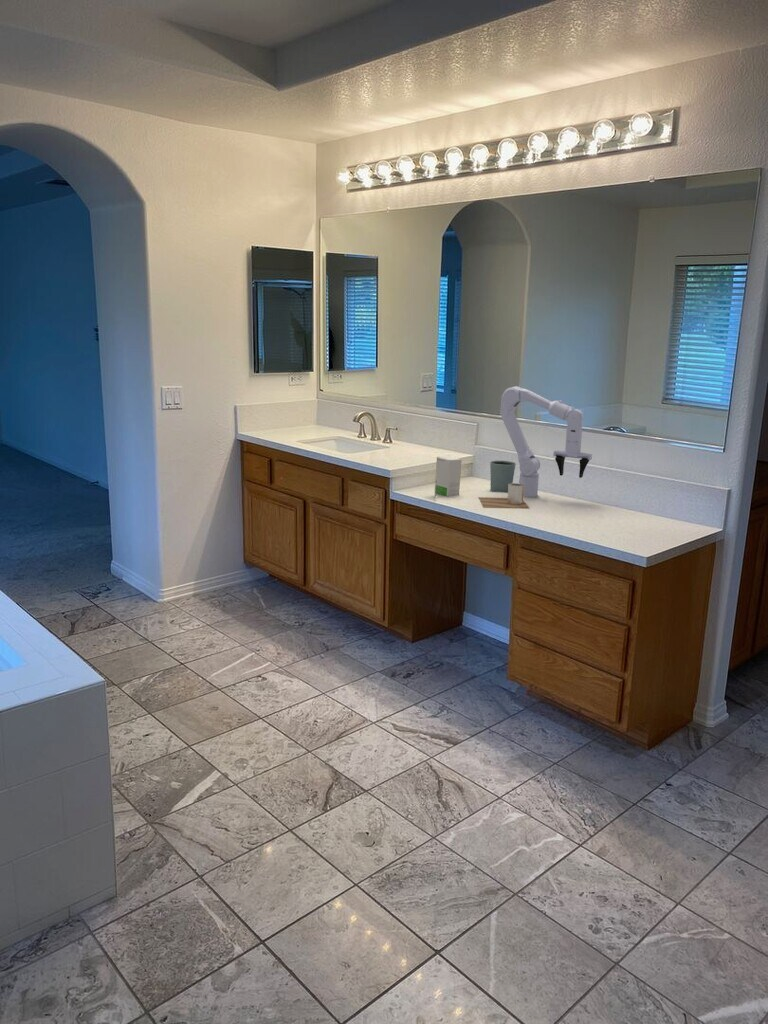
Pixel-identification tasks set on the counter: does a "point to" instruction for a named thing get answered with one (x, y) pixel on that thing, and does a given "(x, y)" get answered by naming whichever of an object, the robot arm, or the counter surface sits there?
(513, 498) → the duct sleeve
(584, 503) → the counter surface
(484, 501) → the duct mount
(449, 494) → the skincare box
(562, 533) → the counter surface
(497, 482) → the green plant pot
